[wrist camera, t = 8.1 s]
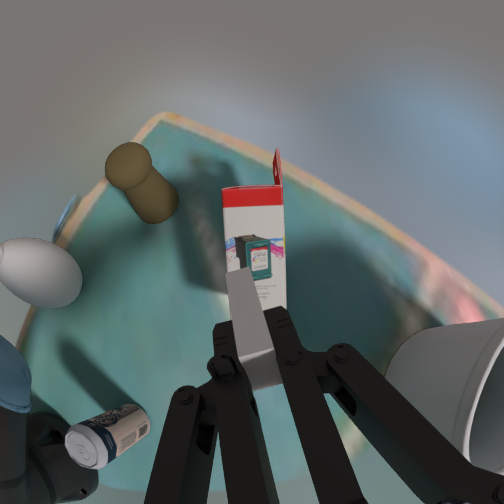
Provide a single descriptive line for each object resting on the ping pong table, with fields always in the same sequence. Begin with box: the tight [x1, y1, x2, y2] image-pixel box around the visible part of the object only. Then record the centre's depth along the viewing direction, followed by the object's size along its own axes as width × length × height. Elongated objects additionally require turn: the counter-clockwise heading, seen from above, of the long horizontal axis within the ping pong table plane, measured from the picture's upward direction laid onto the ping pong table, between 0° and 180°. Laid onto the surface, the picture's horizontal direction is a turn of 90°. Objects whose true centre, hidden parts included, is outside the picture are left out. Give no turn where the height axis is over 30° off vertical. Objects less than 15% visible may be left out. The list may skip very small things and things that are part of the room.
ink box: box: [221, 148, 286, 320], centre depth 26 cm, size 8×5×15 cm
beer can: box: [65, 404, 151, 469], centre depth 22 cm, size 5×5×12 cm
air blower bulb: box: [0, 238, 82, 309], centre depth 24 cm, size 8×8×18 cm
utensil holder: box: [385, 318, 504, 475], centre depth 19 cm, size 15×15×18 cm
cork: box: [105, 142, 179, 224], centre depth 30 cm, size 6×6×11 cm
